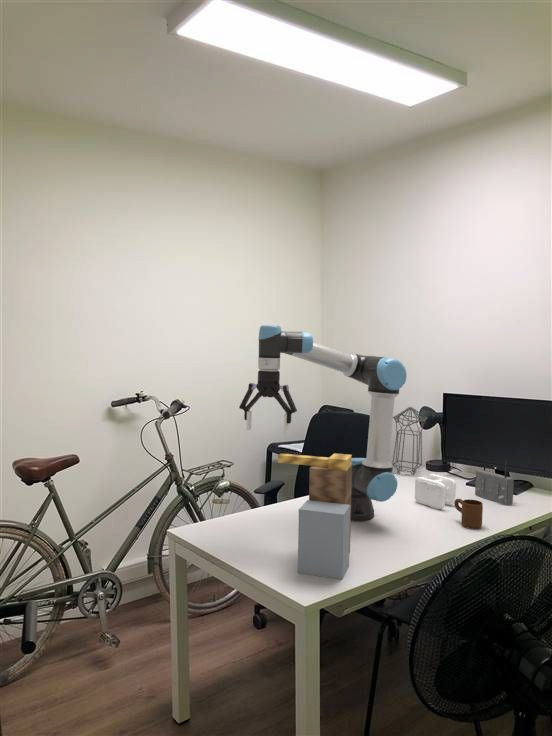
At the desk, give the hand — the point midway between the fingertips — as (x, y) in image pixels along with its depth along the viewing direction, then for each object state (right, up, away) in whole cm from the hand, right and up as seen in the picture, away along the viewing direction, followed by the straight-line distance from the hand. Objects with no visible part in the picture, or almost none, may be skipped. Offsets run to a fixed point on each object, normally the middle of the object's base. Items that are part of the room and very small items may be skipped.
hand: (267, 431), depth 201 cm
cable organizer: (+71, -37, +49) cm, 94 cm away
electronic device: (+99, -37, +57) cm, 120 cm away
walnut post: (+21, -40, -8) cm, 46 cm away
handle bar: (+15, -10, -8) cm, 20 cm away
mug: (+77, -39, +24) cm, 90 cm away
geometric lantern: (+72, -33, +102) cm, 129 cm away
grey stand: (+18, -41, -19) cm, 49 cm away
